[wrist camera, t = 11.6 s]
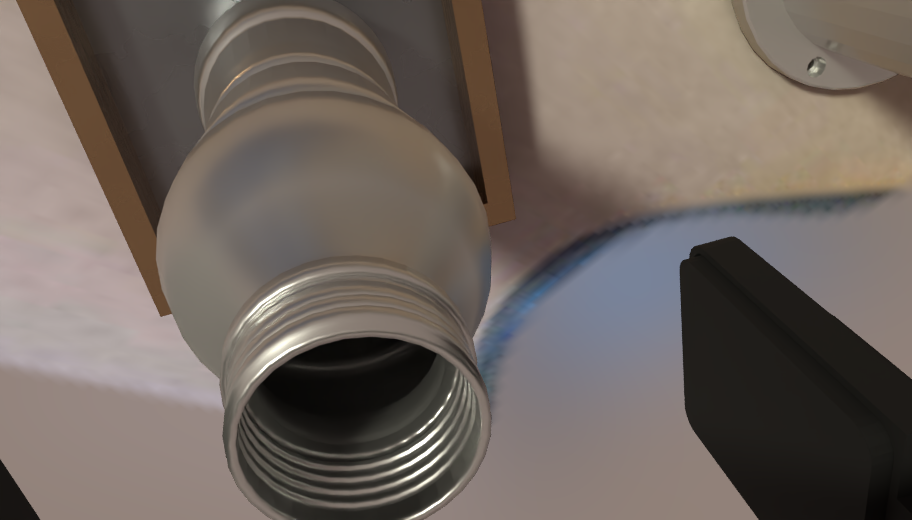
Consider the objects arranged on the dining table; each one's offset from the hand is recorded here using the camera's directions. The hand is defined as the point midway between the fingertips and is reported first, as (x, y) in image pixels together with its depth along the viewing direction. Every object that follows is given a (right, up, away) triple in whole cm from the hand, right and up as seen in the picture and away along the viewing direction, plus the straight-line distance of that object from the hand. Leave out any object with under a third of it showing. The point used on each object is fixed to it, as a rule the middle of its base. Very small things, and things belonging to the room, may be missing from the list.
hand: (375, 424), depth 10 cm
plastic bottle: (-5, +9, +17) cm, 20 cm away
